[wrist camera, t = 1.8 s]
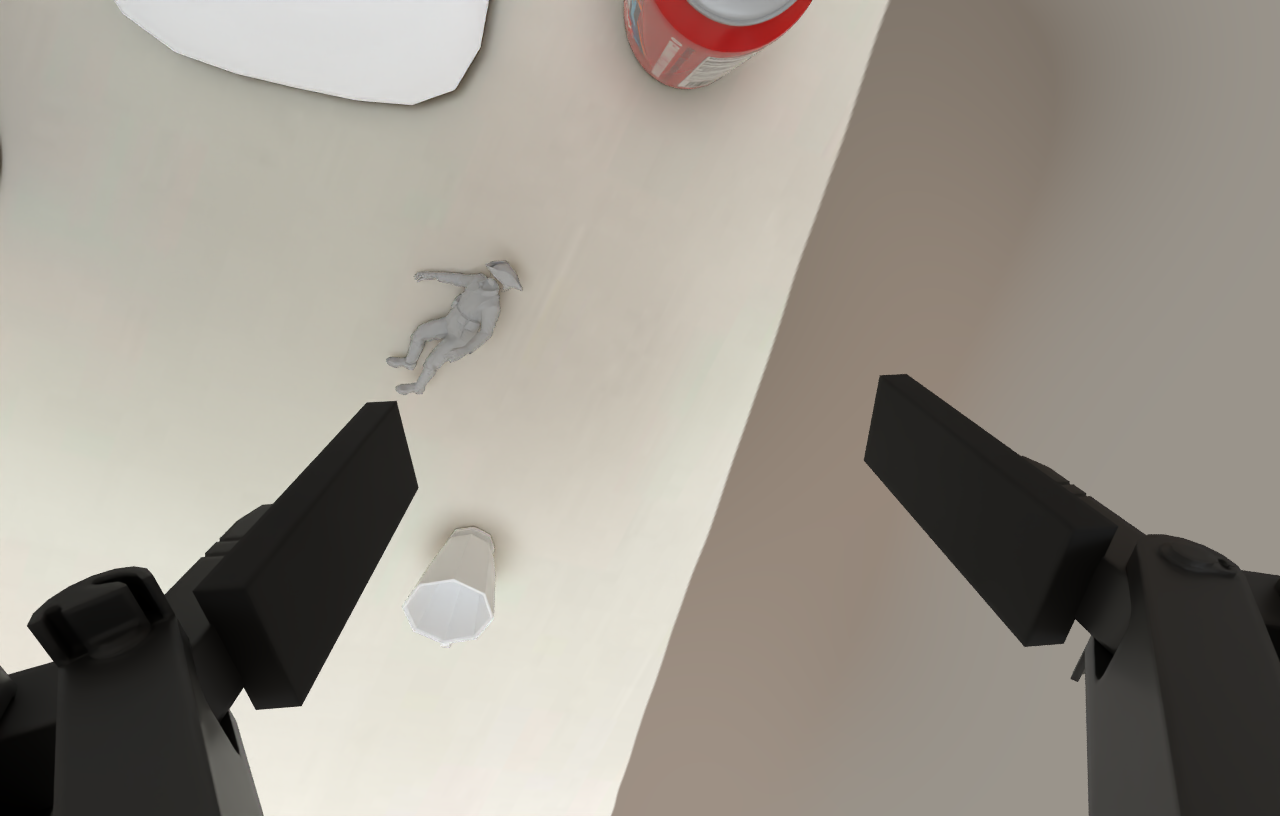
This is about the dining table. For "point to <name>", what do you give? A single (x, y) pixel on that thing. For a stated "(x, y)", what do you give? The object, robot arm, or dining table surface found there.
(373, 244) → the dining table surface
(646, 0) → the soda can
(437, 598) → the cup
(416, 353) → the soldier figure
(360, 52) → the plate
